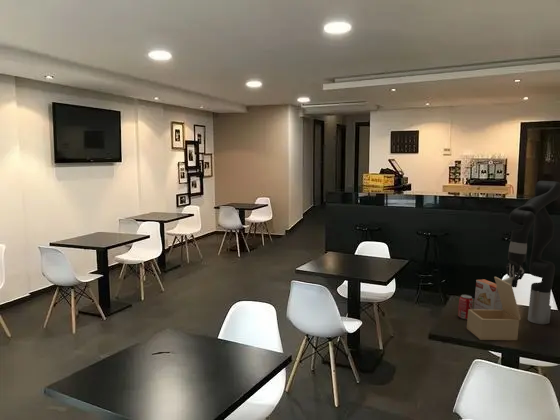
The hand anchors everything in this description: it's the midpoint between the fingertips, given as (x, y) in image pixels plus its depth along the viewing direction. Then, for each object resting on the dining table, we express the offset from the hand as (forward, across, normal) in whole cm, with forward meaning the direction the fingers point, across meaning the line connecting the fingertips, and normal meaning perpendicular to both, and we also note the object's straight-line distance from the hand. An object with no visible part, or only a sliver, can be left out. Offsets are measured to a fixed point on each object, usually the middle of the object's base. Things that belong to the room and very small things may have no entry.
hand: (512, 286), depth 214 cm
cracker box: (+25, +18, +1) cm, 31 cm away
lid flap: (+6, 0, +2) cm, 6 cm away
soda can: (+25, +22, +11) cm, 35 cm away
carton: (+25, 0, +8) cm, 26 cm away
